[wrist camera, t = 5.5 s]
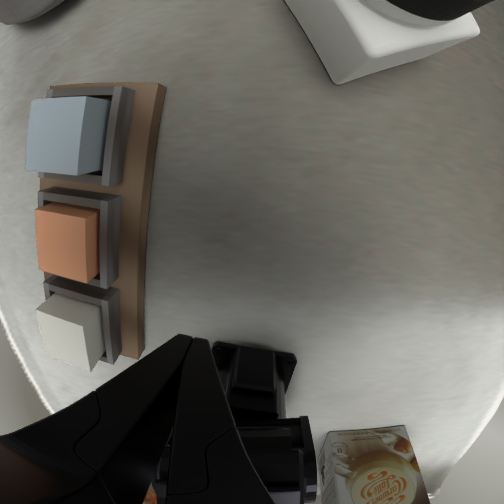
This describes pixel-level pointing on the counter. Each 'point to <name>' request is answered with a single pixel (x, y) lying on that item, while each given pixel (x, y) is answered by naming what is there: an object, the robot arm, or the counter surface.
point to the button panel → (114, 209)
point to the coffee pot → (24, 10)
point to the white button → (72, 330)
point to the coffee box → (370, 468)
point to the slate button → (67, 135)
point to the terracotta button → (68, 240)
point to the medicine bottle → (382, 31)
